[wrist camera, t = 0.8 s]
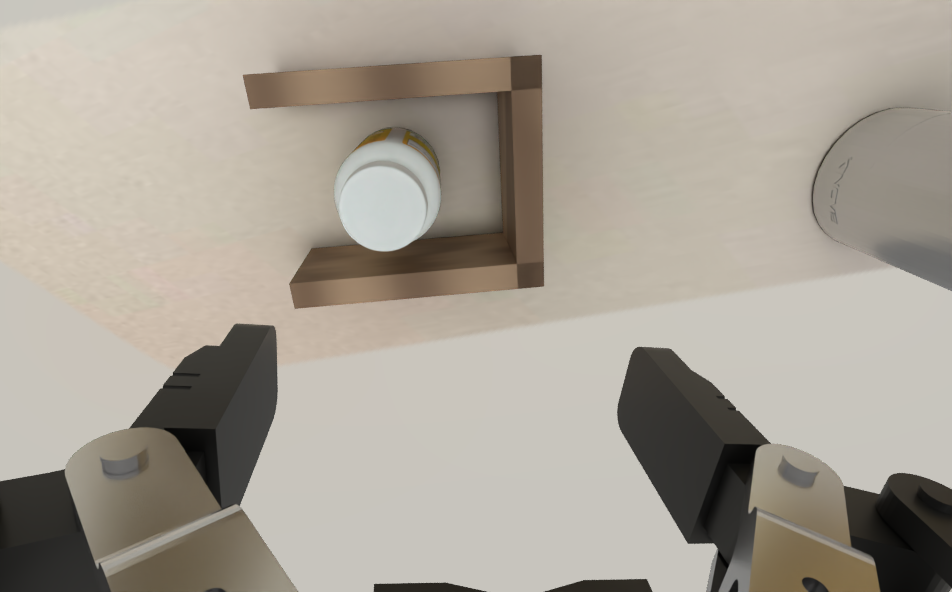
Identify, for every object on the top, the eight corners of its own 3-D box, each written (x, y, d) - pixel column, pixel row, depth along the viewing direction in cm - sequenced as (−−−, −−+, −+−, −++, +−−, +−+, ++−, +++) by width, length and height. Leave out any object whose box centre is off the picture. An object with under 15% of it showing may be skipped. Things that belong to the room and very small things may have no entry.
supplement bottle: (445, 134, 32) (451, 160, 23) (433, 219, 34) (435, 272, 25) (355, 119, 31) (326, 140, 22) (348, 207, 33) (320, 258, 24)
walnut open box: (521, 56, 31) (541, 54, 25) (526, 252, 35) (543, 286, 30) (276, 73, 30) (242, 74, 24) (315, 270, 35) (294, 308, 29)
